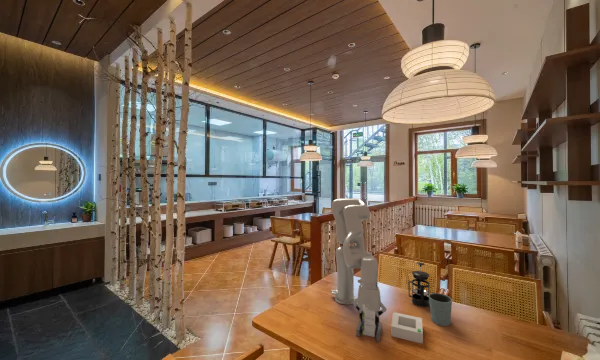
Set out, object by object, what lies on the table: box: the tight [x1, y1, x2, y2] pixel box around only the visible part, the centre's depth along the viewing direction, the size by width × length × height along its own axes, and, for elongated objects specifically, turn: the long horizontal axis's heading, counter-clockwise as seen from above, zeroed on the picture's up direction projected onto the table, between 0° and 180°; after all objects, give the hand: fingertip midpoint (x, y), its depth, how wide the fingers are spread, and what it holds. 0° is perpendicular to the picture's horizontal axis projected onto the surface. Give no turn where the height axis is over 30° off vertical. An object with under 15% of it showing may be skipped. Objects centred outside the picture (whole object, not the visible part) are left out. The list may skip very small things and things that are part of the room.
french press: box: [407, 262, 430, 308], centre depth 143 cm, size 12×9×23 cm
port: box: [390, 311, 424, 345], centre depth 116 cm, size 13×13×5 cm
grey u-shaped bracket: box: [355, 318, 383, 343], centre depth 116 cm, size 10×10×3 cm
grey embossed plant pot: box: [429, 292, 453, 327], centre depth 125 cm, size 10×10×12 cm
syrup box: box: [361, 304, 377, 338], centre depth 116 cm, size 6×6×14 cm
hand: (369, 321), depth 116 cm, fingers closed on syrup box, 5 cm apart
